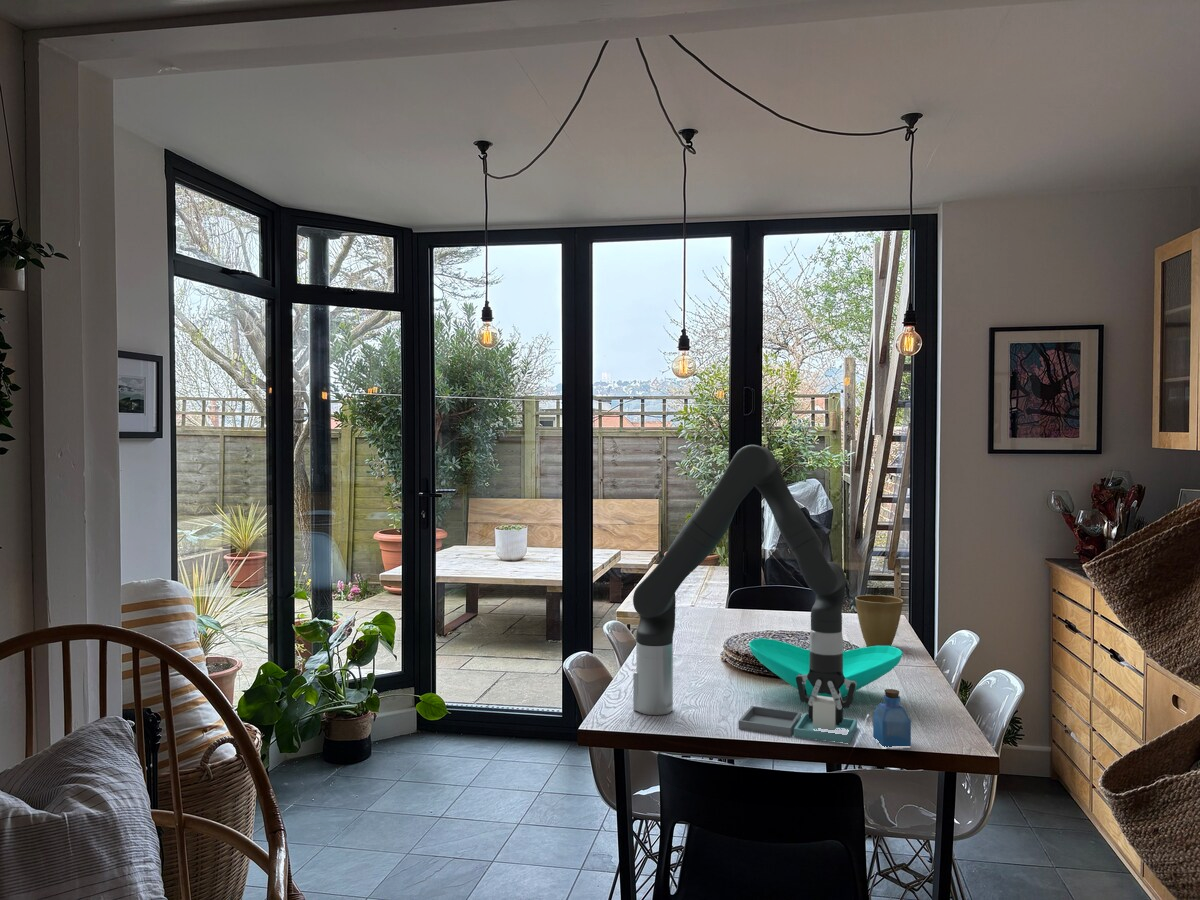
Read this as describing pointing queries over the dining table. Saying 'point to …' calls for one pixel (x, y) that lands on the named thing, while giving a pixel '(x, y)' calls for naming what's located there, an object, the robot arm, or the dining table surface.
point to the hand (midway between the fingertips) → (825, 722)
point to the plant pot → (878, 618)
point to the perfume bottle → (891, 721)
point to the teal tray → (806, 731)
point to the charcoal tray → (769, 720)
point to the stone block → (824, 713)
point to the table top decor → (795, 661)
